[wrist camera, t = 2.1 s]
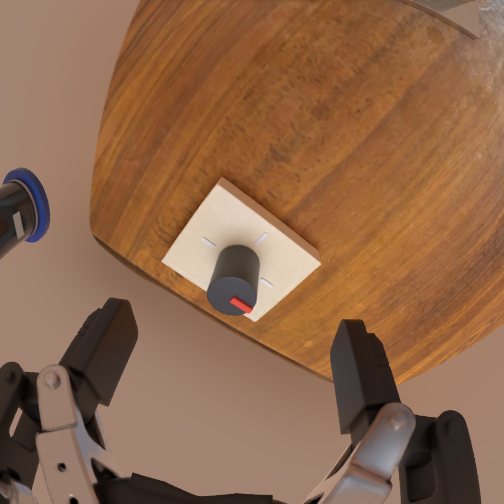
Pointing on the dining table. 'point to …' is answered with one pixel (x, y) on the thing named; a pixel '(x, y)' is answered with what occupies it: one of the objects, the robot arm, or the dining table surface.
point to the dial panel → (242, 233)
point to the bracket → (452, 13)
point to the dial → (234, 281)
